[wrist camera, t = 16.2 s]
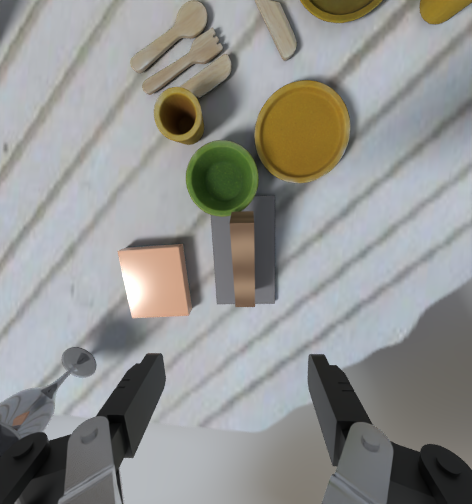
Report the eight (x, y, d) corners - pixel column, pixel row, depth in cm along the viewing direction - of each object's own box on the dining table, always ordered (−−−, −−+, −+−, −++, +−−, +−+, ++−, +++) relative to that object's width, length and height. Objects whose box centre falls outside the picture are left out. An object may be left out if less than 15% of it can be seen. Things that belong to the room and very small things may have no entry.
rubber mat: (210, 198, 35) (209, 198, 34) (274, 195, 34) (274, 195, 33) (217, 302, 39) (216, 304, 38) (274, 301, 38) (274, 303, 37)
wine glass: (57, 343, 43) (-40, 417, 29) (97, 348, 43) (19, 425, 28) (61, 376, 45) (-28, 461, 31) (99, 381, 45) (27, 469, 30)
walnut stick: (231, 211, 30) (229, 223, 27) (253, 211, 30) (254, 222, 26) (236, 289, 37) (235, 307, 34) (254, 289, 37) (255, 306, 34)
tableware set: (413, -167, 24) (470, -295, 18) (488, 83, 28) (554, 50, 22) (117, 60, 30) (83, 24, 24) (217, 234, 35) (210, 241, 29)
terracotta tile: (117, 251, 35) (132, 318, 38) (178, 246, 34) (188, 315, 37) (127, 246, 38) (140, 309, 41) (183, 243, 37) (192, 306, 40)
